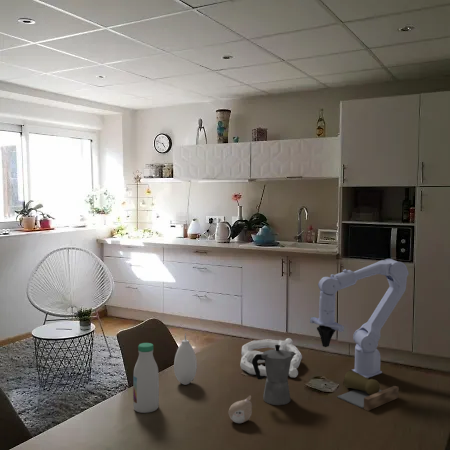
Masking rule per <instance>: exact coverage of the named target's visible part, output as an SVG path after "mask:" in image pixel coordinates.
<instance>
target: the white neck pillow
mask: <svg viewBox="0 0 450 450" xmlns="http://www.w3.org/2000/svg"><path fill="white" fill-rule="evenodd" d="M275 345H280V348H279V350H284V351H292V352H294V353H296V354H295V355H294V357H293V358H292V360H291V363H290V369H289V375H288V377H290V378H293V379H294V378H297V377H298V375H299V371H298V368H299V366H300V364H301V360H302V359H303V355H302V353H301V352H300V350H299V349H298V347H296V345H294V342H293V339H291V338H290V337H289V338H288V337H287V338H286V339H285V340H282V339H279V340H278V339H270V338H268V339H267V338H264V339H258V340H256V339H253V340H252V341H249V342H247V343H245V344H243V345H242V346H241V359H240V365H239V367H240V368H241V370H243V371H245V372H246V373H248V374H249V375H253V376H254V375H255V376H256V373H255V370H254V367H253V364H252V360H253V358H254V357H255V355H257V354H263V353H264V351H263V352H262V351H260V350H261V349H267V348H268V349H274V350H276V348H275ZM259 349H260V350H259ZM258 350H259V351H258ZM257 363H258V364H260V365H258V368H259V370H260V376H264V377H267V374H266V367H265V366H264V365H263V364H261V363H265V360H258V361H257Z"/></svg>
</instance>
